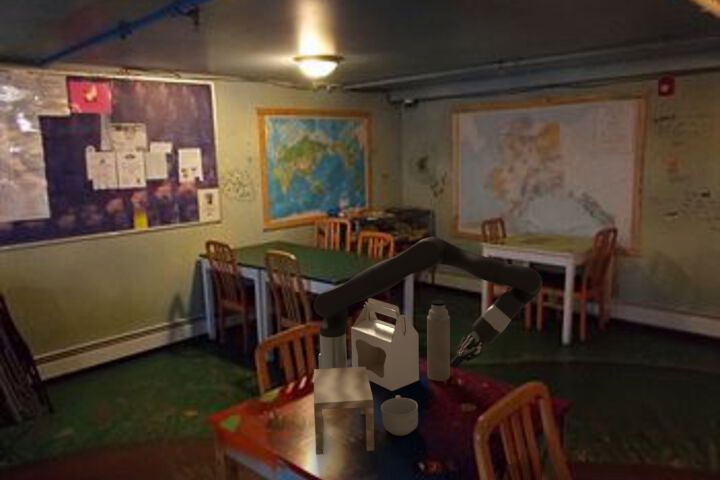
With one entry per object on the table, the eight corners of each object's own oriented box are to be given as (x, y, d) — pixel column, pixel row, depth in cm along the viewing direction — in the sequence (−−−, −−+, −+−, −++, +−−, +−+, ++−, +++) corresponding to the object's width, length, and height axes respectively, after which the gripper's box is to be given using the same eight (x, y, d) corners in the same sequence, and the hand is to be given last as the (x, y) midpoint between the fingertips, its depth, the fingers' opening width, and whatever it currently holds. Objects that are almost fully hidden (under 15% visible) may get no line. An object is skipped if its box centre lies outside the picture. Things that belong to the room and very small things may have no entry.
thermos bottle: (427, 371, 205) (426, 298, 200) (449, 372, 204) (449, 298, 200) (427, 380, 197) (427, 304, 193) (450, 381, 196) (450, 304, 192)
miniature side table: (366, 411, 176) (365, 366, 174) (374, 450, 153) (373, 399, 151) (316, 414, 175) (314, 369, 172) (316, 454, 152) (313, 403, 150)
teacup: (416, 441, 158) (415, 415, 156) (378, 438, 160) (377, 412, 158) (420, 417, 171) (420, 393, 170) (385, 415, 173) (385, 391, 172)
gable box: (351, 372, 207) (349, 299, 202) (378, 363, 215) (376, 292, 210) (392, 391, 190) (391, 312, 185) (419, 380, 198) (419, 304, 193)
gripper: (476, 309, 171) (438, 350, 172) (489, 322, 158) (448, 366, 159) (493, 324, 172) (455, 365, 173) (508, 338, 159) (467, 382, 160)
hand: (452, 366), depth 166 cm, fingers closed
